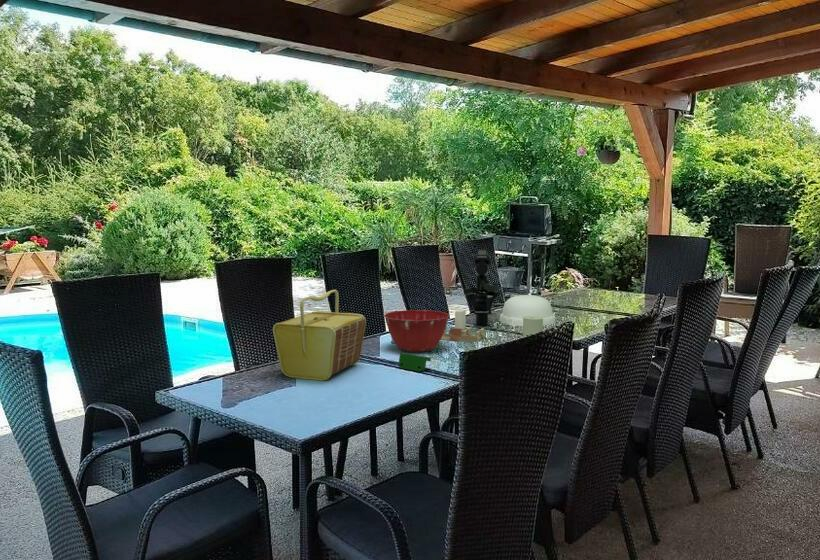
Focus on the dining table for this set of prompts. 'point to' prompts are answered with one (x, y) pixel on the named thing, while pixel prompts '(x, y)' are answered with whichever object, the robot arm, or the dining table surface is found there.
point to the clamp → (413, 362)
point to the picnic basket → (319, 341)
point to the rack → (463, 335)
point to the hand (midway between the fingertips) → (481, 310)
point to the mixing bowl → (416, 329)
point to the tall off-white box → (460, 319)
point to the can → (532, 324)
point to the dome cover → (526, 310)
